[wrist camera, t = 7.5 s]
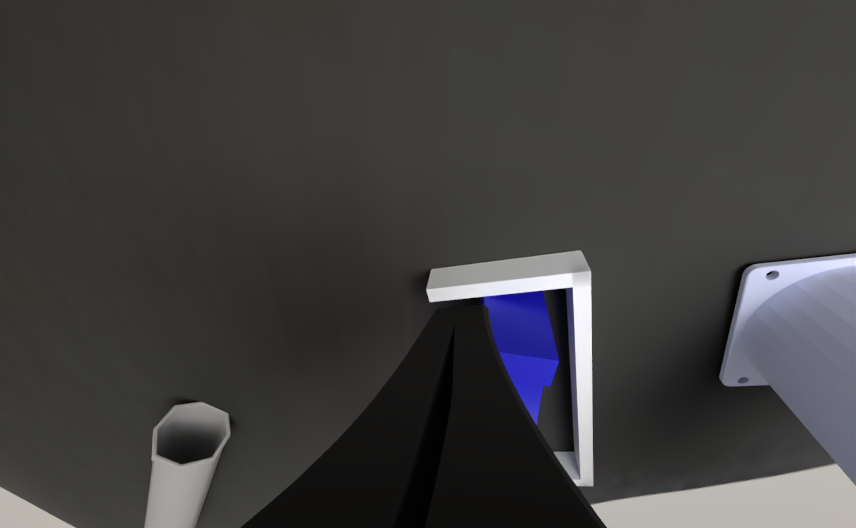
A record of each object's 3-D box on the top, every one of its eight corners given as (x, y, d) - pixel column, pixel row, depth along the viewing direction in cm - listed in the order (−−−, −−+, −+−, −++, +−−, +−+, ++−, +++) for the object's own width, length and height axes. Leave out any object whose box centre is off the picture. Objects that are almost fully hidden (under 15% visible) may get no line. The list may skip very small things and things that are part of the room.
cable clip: (522, 421, 25) (532, 514, 20) (460, 411, 26) (454, 499, 21) (567, 283, 19) (597, 366, 14) (484, 272, 20) (484, 349, 14)
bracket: (580, 250, 18) (590, 270, 16) (586, 458, 26) (593, 486, 24) (431, 269, 20) (426, 289, 18) (480, 457, 28) (480, 484, 26)
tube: (186, 564, 40) (220, 469, 27) (128, 567, 37) (136, 466, 25) (202, 508, 44) (239, 404, 31) (151, 508, 42) (167, 396, 29)
